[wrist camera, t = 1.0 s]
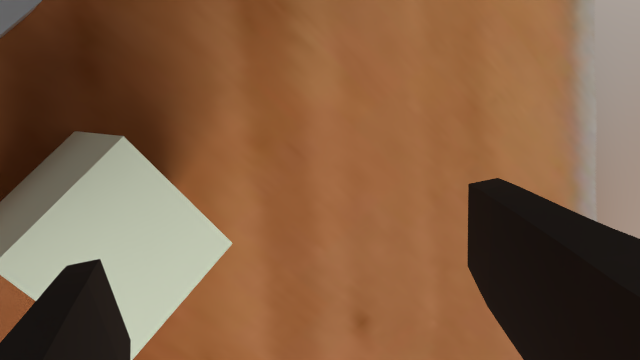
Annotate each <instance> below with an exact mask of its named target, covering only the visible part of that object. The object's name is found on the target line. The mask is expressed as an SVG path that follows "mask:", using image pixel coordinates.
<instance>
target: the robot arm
mask: <svg viewBox="0 0 640 360" xmlns="http://www.w3.org/2000/svg"><path fill="white" fill-rule="evenodd" d="M468 267H469V270H470V272H471V274H472V276H473V278H474V280H475V282H476V284H477V286H478V288H479V290H480V292H481V294H482V296H483V298H484V300H485V302H486V304H487V306H488V308H489V309H490V311H491V312H492V314H493V315H494V317H495V318H496V320H497V321H498V323H499V324H500V326H501V327H502V329H503V330H504V332H505V333H506V334H507V336H508V337H509V339H510V340H511V342H512V343H513V345H514V346H515V348H516V349H517V351H518V352H519V353H520V355H521V356H522V358H523V359H524V360H640V239H638V238H636V237H633V236H631V235H628V234H626V233H623V232H620V231H618V230H615V229H612V228H610V227H608V226H606V225H603V224H601V223H598V222H596V221H594V220H591V219H589V218H587V217H584V216H582V215H580V214H578V213H575V212H573V211H571V210H569V209H567V208H564V207H562V206H560V205H558V204H556V203H554V202H551V201H549V200H547V199H545V198H543V197H541V196H538V195H536V194H534V193H532V192H530V191H528V190H525V189H523V188H521V187H519V186H516V185H514V184H512V183H509V182H507V181H504V180H502V179H499V178H496V179H491V180H486V181H481V182H476V183H471V184H469V194H468ZM130 354H131V339H130V337H129V334H128V331H127V329H126V326H125V323H124V321H123V318H122V315H121V313H120V310H119V307H118V305H117V302H116V299H115V297H114V294H113V292H112V289H111V286H110V284H109V281H108V278H107V276H106V273H105V270H104V268H103V265H102V262H101V260H100V259H97V260H92V261H87V262H82V263H77V264H72V265H67V266H66V267H65V268H64V269H63V270H62V271H61V272H60V273H59V275H58V276H57V277H56V278H55V279H54V280H53V282H52V283H51V284H50V285H49V286H48V287H47V289H46V290H45V291H44V292H43V293H42V295H41V296H40V297H39V298H38V299H37V301H36V302H35V303H34V304H33V305H32V307H31V308H30V309H29V310H28V311H27V312H26V314H25V315H24V316H23V317H22V318H21V319H20V321H19V322H18V323H17V324H16V325H15V326H14V328H13V329H12V330H11V331H10V332H9V333H8V334H7V336H6V337H5V338H4V339H3V340H2V341H1V343H0V360H130Z"/></svg>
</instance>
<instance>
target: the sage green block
mask: <svg viewBox="0 0 640 360" xmlns="http://www.w3.org/2000/svg"><path fill="white" fill-rule="evenodd" d="M231 244H232V242H231V241H230V240H229V239H228V238H227V237H226V236H225V235H224V234H223V233H222V232H221V231H220V230H219V229H218V228H217V227H215V226H214V225H213V224H212V223H211V222H210V221H209V220H208V219H207V218H206V217H205V216H204V215H203V214H202V213H201V212H200V211H199V210H198V209H197V208H196V207H195V206H194V205H193V204H192V203H191V202H190V201H189V200H188V199H187V198H186V197H185V196H184V195H183V194H182V193H181V192H180V191H179V190H178V189H177V188H176V187H175V186H174V185H173V184H172V183H171V182H170V181H169V180H168V179H167V178H166V177H165V176H164V175H163V174H161V173H160V172H159V171H158V170H157V169H156V168H155V167H154V166H153V165H152V164H151V163H150V162H149V161H148V160H147V159H146V158H145V157H144V156H143V155H142V154H141V153H140V152H139V151H138V150H137V149H136V148H135V147H134V146H133V145H132V144H131V143H130V142H129V141H128V140H127V139H126V138H125V137H124V136H117V135H107V134H97V133H87V132H78V131H75V132H73V133H72V134H71V135H70V136H69V137H68V138H67V139H66V140H65V141H64V142H63V143H62V144H61V145H60V146H59V147H58V148H57V149H56V150H54V151H53V152H52V153H51V154H50V155H49V156H48V157H47V158H46V159H45V160H44V161H43V162H42V163H41V164H40V165H39V166H38V167H37V168H35V169H34V170H33V171H32V172H31V173H30V174H29V175H28V176H27V177H26V178H25V179H24V180H23V181H22V182H21V183H20V184H19V185H17V186H16V187H15V188H14V189H13V190H12V191H11V192H10V193H9V194H8V195H7V196H6V197H5V198H4V199H3V200H2V201H1V202H0V275H1V276H3V277H4V278H5V279H7V280H8V281H9V282H11V283H12V284H13V285H15V286H16V287H18V288H19V289H20V290H22V291H23V292H24V293H26V294H27V295H28V296H30V297H31V298H32V299H34V300H35V301H37V299H38V298H39V297H40V296H41V295H42V293H43V292H44V291H45V290H46V289H47V287H48V286H49V285H50V284H51V283H52V282H53V280H54V279H55V278H56V277H57V276H58V275H59V273H60V272H61V271H62V270H63V269H64V268H65V267H66V266H67V265H72V264H77V263H82V262H87V261H92V260H97V259H100V260H101V262H102V265H103V268H104V270H105V273H106V276H107V278H108V281H109V284H110V286H111V289H112V292H113V294H114V297H115V299H116V302H117V305H118V307H119V310H120V313H121V315H122V318H123V321H124V323H125V326H126V329H127V331H128V334H129V337H130V339H131V354H130V360H133V358H134V357H135V356H136V355H137V354H138V353H139V351H140V350H141V349H142V348H143V347H144V346H145V344H146V343H147V342H148V341H149V340H150V339H151V338H152V336H153V335H154V334H155V333H156V332H157V331H158V329H159V328H160V327H161V326H162V325H163V324H164V322H165V321H166V320H167V319H168V318H169V317H170V315H171V314H172V313H173V312H174V311H175V310H176V308H177V307H178V306H179V305H180V304H181V303H182V301H183V300H184V299H185V298H186V297H187V296H188V294H189V293H190V292H191V291H192V290H193V289H194V287H195V286H196V285H197V284H198V283H199V282H200V281H201V279H202V278H203V277H204V276H205V275H206V274H207V272H208V271H209V270H210V269H211V268H212V267H213V265H214V264H215V263H216V262H217V261H218V260H219V258H220V257H221V256H222V255H223V254H224V253H225V251H226V250H227V249H228V248H229V247H230V246H231Z"/></svg>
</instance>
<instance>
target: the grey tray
mask: <svg viewBox="0 0 640 360" xmlns="http://www.w3.org/2000/svg"><path fill="white" fill-rule="evenodd" d="M41 1H42V0H0V38H2V37H3V36H4V35H5V34H6V33H8V32H9V31H10V30H11V29H12V28H14V27H15V26H16V25H17V24H18V23H20V22H21V21H22V20H23V19H24V18H26V17H27V16H28V15H29V14H30V13H31V12H32V11H33V10H34V9H35V8H36V7H37V6H38V5H39V3H40V2H41Z"/></svg>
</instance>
